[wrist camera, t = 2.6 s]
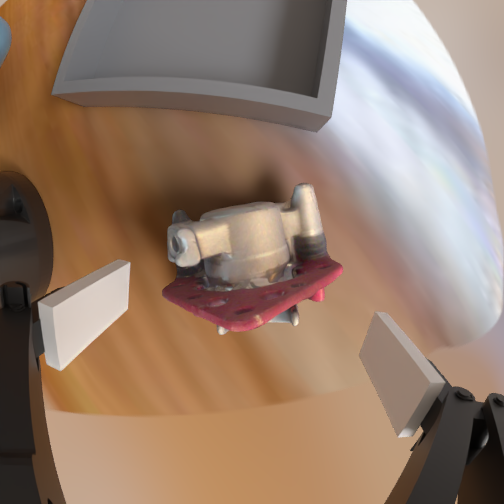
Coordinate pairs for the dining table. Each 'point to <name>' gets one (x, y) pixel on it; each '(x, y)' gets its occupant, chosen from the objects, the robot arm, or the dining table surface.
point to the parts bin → (208, 57)
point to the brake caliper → (250, 262)
